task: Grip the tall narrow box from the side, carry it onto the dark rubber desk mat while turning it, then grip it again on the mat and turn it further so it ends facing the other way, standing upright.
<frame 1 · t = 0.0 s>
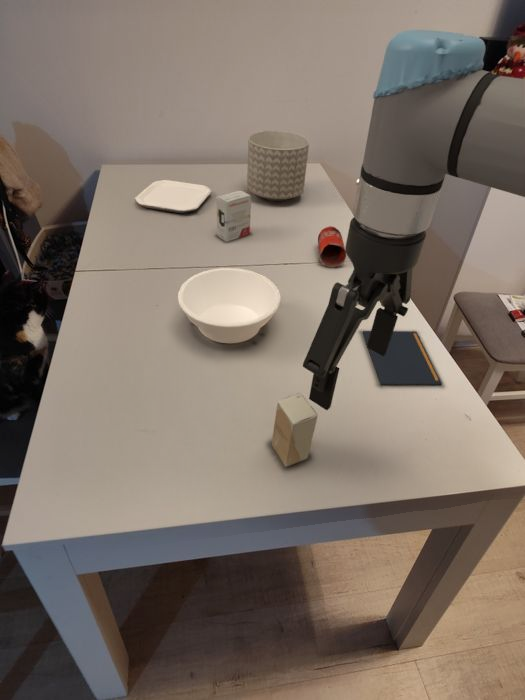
hand: (349, 375, 58), 20 cm above the table, tool pointing down, fingers open, 13 cm apart
box: (289, 452, 73), on the table
plate: (174, 201, 144), on the table
planter: (274, 196, 151), on the table
ink box: (233, 235, 128), on the table
beverage can: (328, 257, 122), on the table
desk mat: (399, 357, 91), on the table
bowl: (229, 326, 96), on the table
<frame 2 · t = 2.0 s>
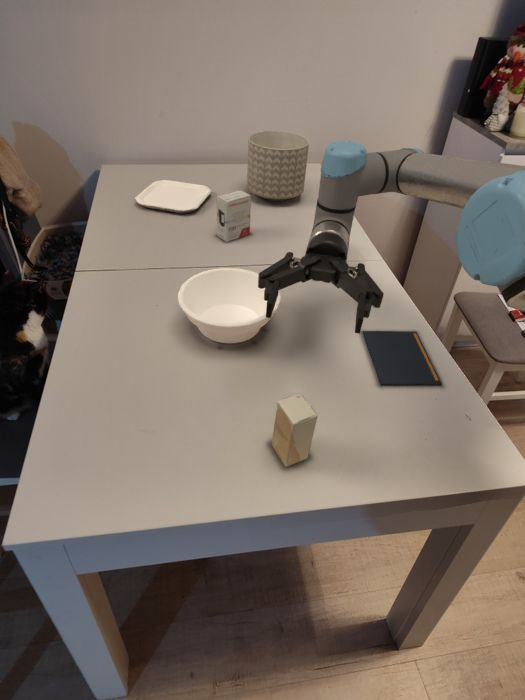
hand: (313, 318, 66), 20 cm above the table, tool horizontal, fingers open, 13 cm apart
nothing on the table moved.
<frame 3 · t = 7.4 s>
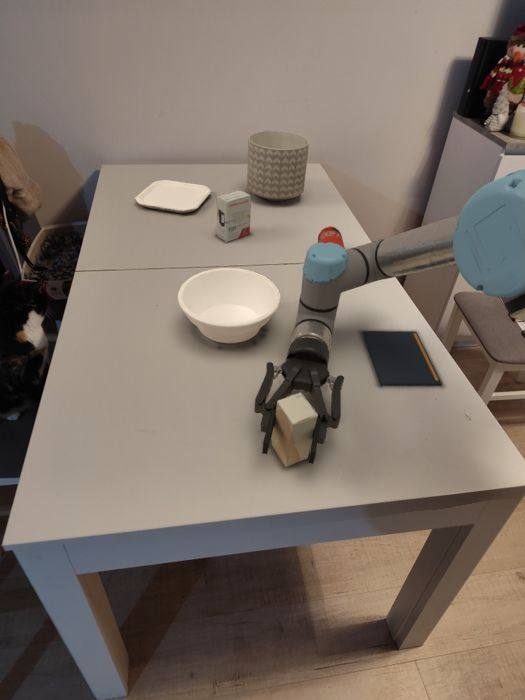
hand: (288, 453, 64), 7 cm above the table, tool horizontal, fingers closed on box, 6 cm apart
box: (289, 452, 73), on the table, touching gripper
everything else where it was.
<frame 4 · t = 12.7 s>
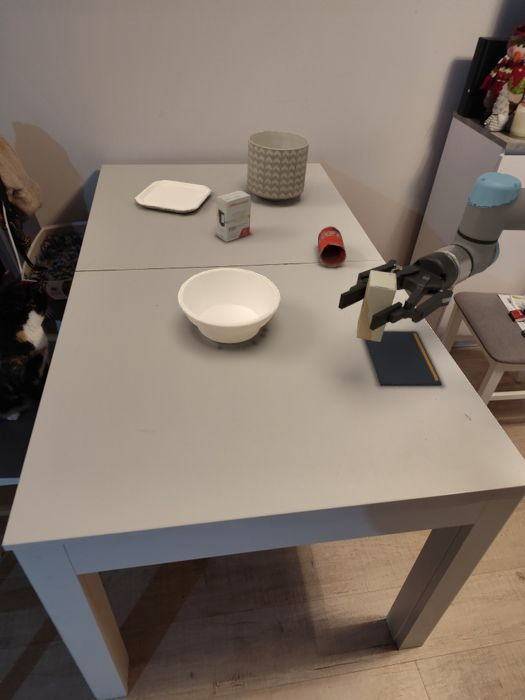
hand: (356, 312, 72), 18 cm above the table, tool horizontal, fingers closed on box, 6 cm apart
box: (368, 332, 79), point 11 cm above the table, touching gripper
everything else where it was.
when the fingers open (7 cm above the table, at t = 18.0 s): box stays where it is, resting on desk mat.
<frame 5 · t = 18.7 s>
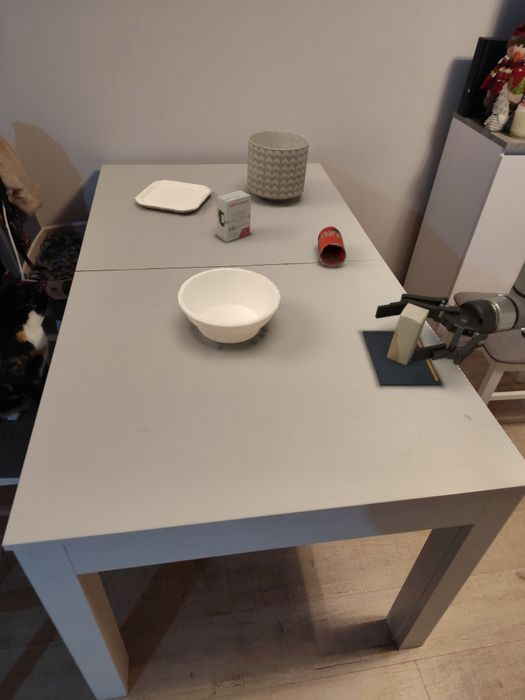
hand: (394, 332, 86), 7 cm above the table, tool horizontal, fingers open, 13 cm apart
box: (399, 356, 91), resting on desk mat
everything else where it was.
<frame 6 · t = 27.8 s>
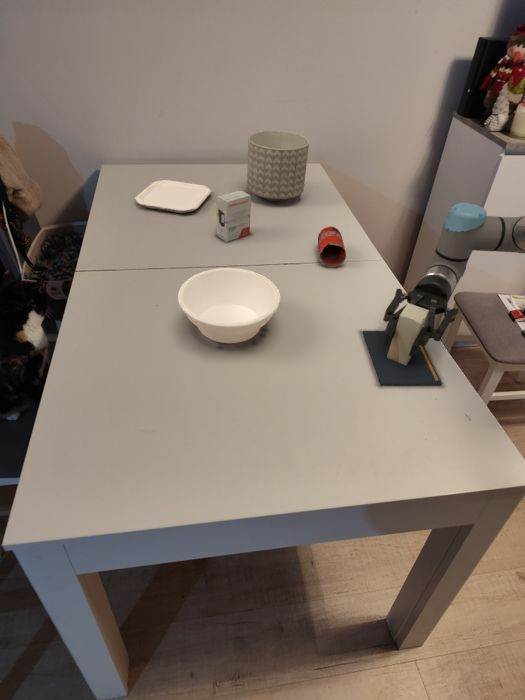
hand: (399, 345, 83), 7 cm above the table, tool horizontal, fingers closed on box, 4 cm apart
box: (399, 356, 91), resting on desk mat, touching gripper
everything else where it was.
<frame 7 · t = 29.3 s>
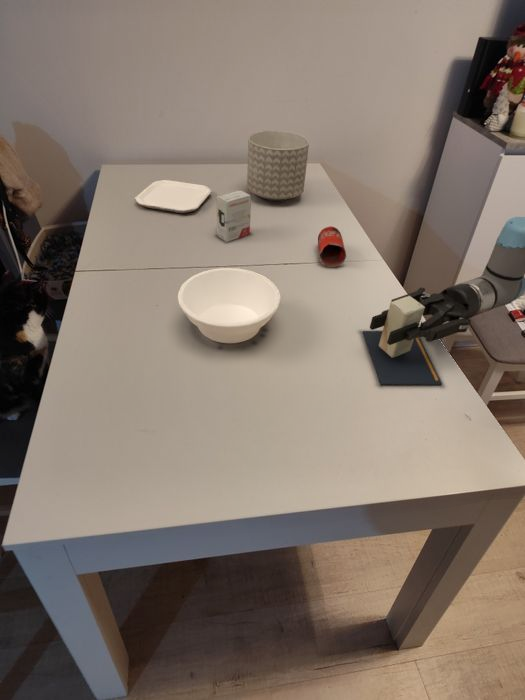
hand: (381, 330, 84), 9 cm above the table, tool horizontal, fingers closed on box, 4 cm apart
box: (393, 349, 90), point 2 cm above the table, touching gripper
everything else where it was.
when the fingers open (7 cm above the table, at t = 30.9 s): box stays where it is, resting on desk mat.
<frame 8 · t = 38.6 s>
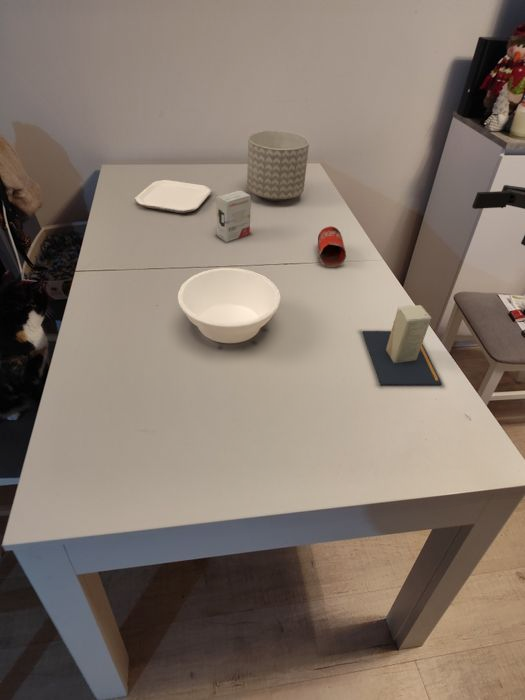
hand: (499, 217, 74), 30 cm above the table, tool horizontal, fingers open, 13 cm apart
box: (400, 356, 91), resting on desk mat
everything else where it was.
at the end: box inside the target area on the desk mat (0.1 cm from its centre), point 0.3 cm above the desk mat's base; box tilted 0°; the gripper is holding nothing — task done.
